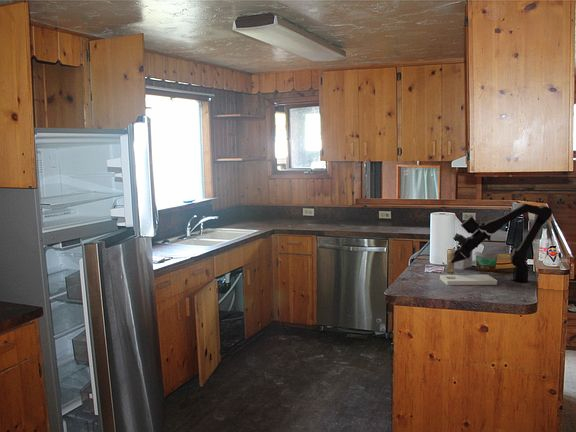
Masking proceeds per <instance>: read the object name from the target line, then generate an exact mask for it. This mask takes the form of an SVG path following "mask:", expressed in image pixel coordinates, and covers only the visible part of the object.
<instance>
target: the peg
mask: <svg viewBox="0 0 576 432" xmlns="http://www.w3.org/2000/svg"><path fill="white" fill-rule="evenodd" d="M454 252H455V250H452V249H448V250H447V265H446V275H454V273H455V268H454V263H451V261H452V259H453V258H454Z"/></svg>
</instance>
